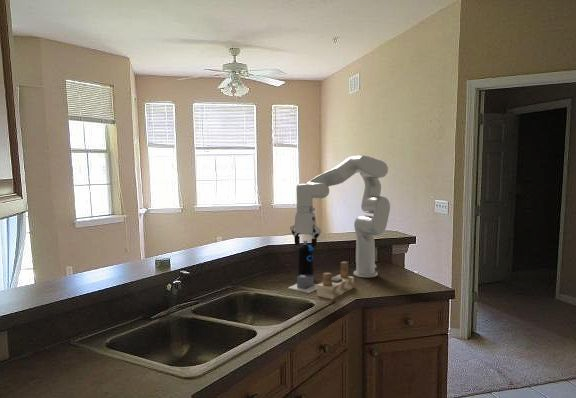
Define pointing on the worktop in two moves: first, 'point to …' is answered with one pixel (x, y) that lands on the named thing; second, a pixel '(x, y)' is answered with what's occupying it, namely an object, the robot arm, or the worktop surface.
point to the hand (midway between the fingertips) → (305, 245)
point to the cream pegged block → (335, 283)
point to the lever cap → (305, 281)
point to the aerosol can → (305, 259)
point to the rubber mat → (304, 289)
